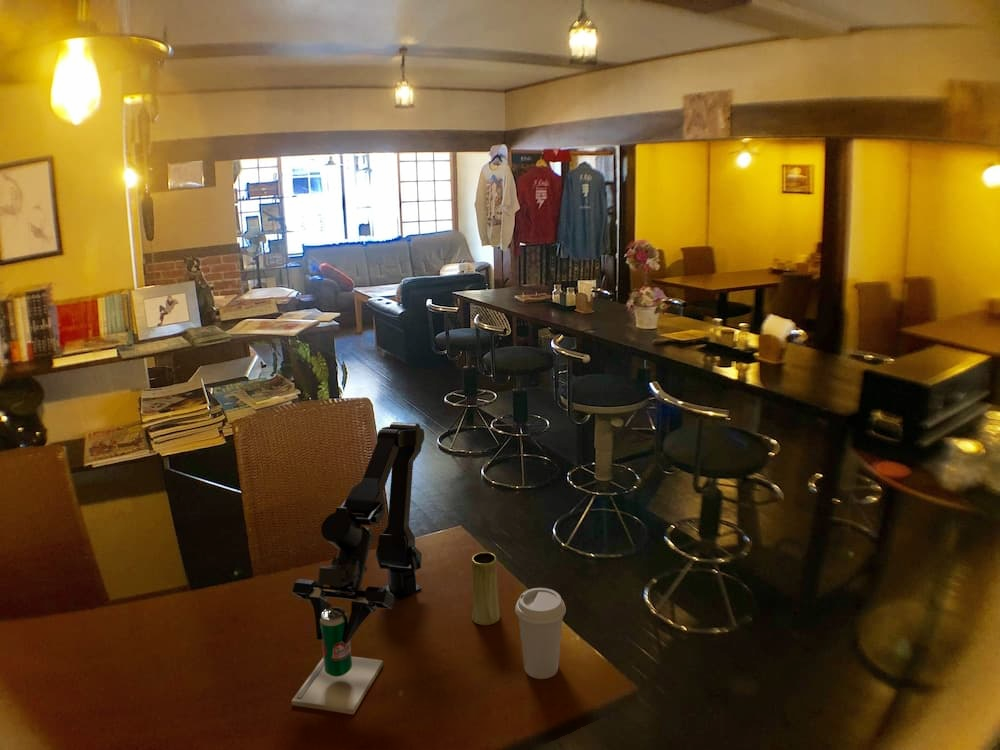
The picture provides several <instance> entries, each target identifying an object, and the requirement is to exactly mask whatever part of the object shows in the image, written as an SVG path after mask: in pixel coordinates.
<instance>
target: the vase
mask: <svg viewBox="0 0 1000 750" xmlns="http://www.w3.org/2000/svg"><path fill="white" fill-rule="evenodd" d="M497 566H498V564H497V556H496V555H495V554H494V553H493V552H489V551H480V552H478V553H475V554H473V555H472V557H471V582H472V583H471V587H472V588H471V589H472V614H471V615H472V616H471V619H472V621H473V622H474V623H475V624H478V625H480V626H489V625H491V626H492V625H494V624H496V623H497V622H499V621H500V618H501V614H500V605H499V593H498V592H499V587H498V568H497Z"/></svg>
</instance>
